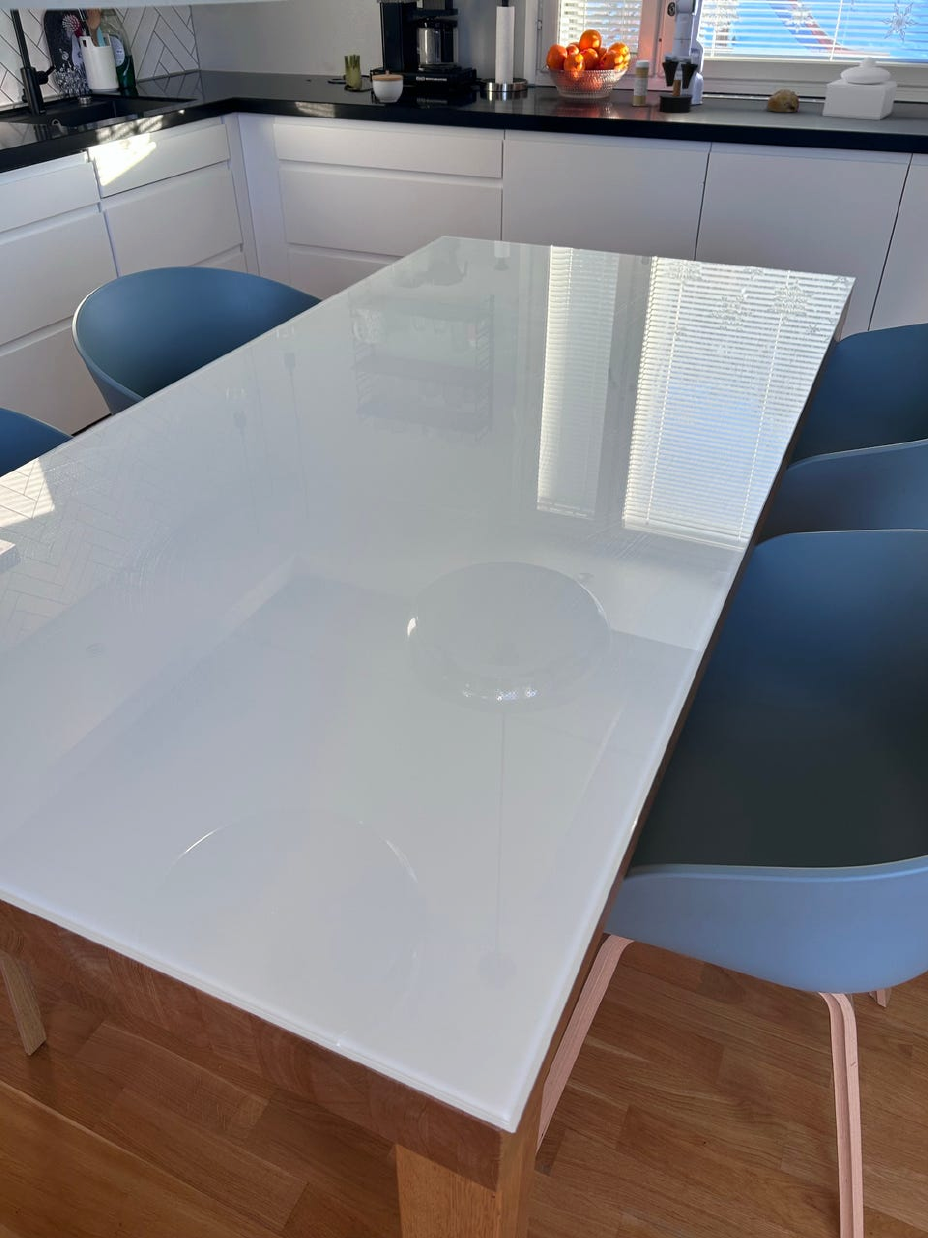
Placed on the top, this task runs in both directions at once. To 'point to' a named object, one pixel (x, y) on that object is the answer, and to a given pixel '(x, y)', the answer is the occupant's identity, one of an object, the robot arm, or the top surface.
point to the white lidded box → (861, 93)
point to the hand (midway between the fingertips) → (677, 87)
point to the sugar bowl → (388, 87)
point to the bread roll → (783, 102)
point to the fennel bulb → (353, 72)
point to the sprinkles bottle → (641, 83)
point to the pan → (675, 105)
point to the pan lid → (676, 92)
